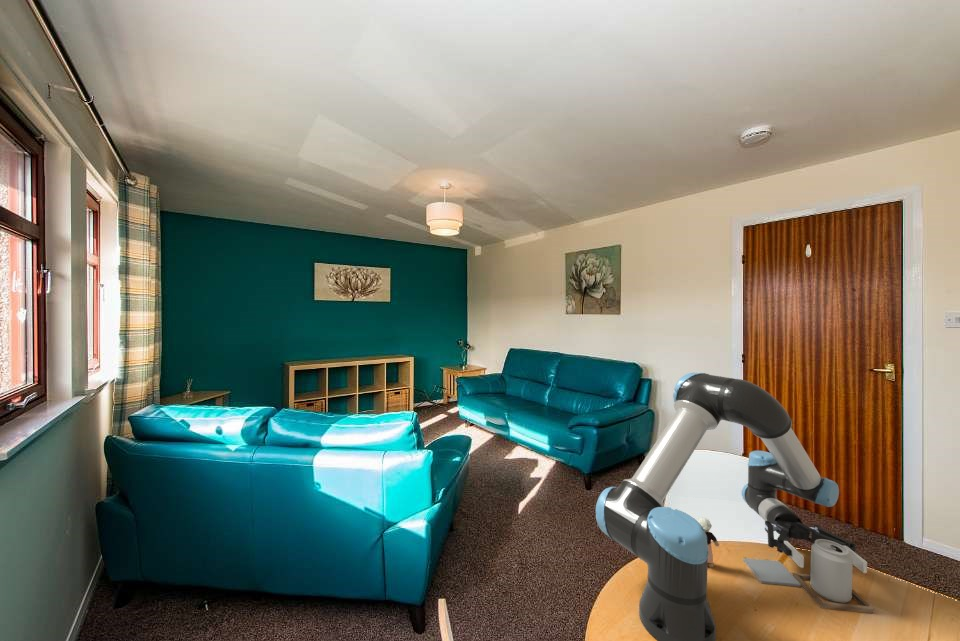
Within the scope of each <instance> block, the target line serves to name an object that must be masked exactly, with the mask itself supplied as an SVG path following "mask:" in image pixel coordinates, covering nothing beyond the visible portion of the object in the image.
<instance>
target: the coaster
mask: <svg viewBox="0 0 960 641" xmlns="http://www.w3.org/2000/svg"><path fill="white" fill-rule="evenodd" d="M742 560H743V562H744V563H745V564H746V565H747V568H748V569H749V570H750V571H751V572H752V573H753V575H754V576H755V577H756V579H757V580H758V581H759V582H760V583H761V584H765V585H766V584H767V585H779V586H786V587H787V586H788V587H789V586H790V587H797V588H798V587H799V588H800V587H801V584H800V583H799V582H798V581H797V580H796V579H795V577H794V576H793V575H792V573H791V572H790V570H788V569H787V568H786V567H785V565H784V564H783V563H782V562H781V561H780V560H773V559H772V560H770V559H760V558H757V559H756V558H748V557H743V559H742ZM801 588H802V587H801Z"/></svg>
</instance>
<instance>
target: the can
mask: <svg viewBox="0 0 960 641" xmlns="http://www.w3.org/2000/svg"><path fill="white" fill-rule="evenodd" d="M853 566H854V565H853V559H852V557H851V556H850V554H849V550H848V549H847V548H846V547H844V546H843V545H841V544H839V543H836V542H834V541H830V540H826V539H818V540H815V543H812V545H811V549H810V574H811V577H810V580H809V583H810V586H811V589H813V591H815V592H816V593H817V594H818V595H819V596H820V597H822V598H823V599H826V600H827V601H829V602H832V603H842V604H846V603H848V602H851V600H852V598H853V597H852V590H853V571H854V570H853V568H854V567H853Z"/></svg>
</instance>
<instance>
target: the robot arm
mask: <svg viewBox="0 0 960 641" xmlns="http://www.w3.org/2000/svg"><path fill="white" fill-rule="evenodd" d="M673 388H674V389H673V390H674V392H673V393H672V397H673V398H672V399H673V402H674V404H673V407H674V410H675V413H674V414H673V415H672V417H671V419H670V420H669V422H668V423H667V425H666V426H665V428H664V429H663V430H662V432H661V434H660V435H659V437H658V438H657V440H655V442H654V445H653V446H652V447H651V449H650V450H649V452H648V453H647V454H646V457H645V458H644V459H643V461H642V462H641V464H640V465H639V467H638V468H637V470H636V471H635V473H634V474H633V476H632V477H631V478H626V479H623V480H621V482H620V484H618V486H609V487H607V488H605V489H603V491H601V493H600V495H599V496H598V499H597V501H596V504H595V519H596V520H595V521H596V524H597V526H598V527H599V529H600V530H601V532H602V533H604V534H605V535H606V536H608V538H610V540H611V541H613V542H616V543H617V544H619V546H621V547H623V549H626V550H627V551H629V553H631V554H632V555H634V556H636V557H637V558H639V560H641V561H642V562H644V563H646V564H647V581H646V584H645V586H644V589H643V591H642V594H641V596H640V598H639V604H638V616H639V620H640V622H641V624H642V625H643V627H644V629H645V630H646V631H647V633H649V634H650V635H651V636H652V637H653V638H654V639H656V640H657V641H716V640H717V637H716V636H717V634H716V633H717V629H716V627H717V626H716V621H715V619H714V616H713V613H712V609H711V606H710V603H709V600H708V597H707V596H708V594H707V591H708V565H707V562H708V554H709V552H708V547H707V536H706V534H705V530H704V529H703V527H702V526H701V525H700V523H699V522H698V520H697V519H695V518H694V517H693V516H691V515H690V514H688V513H686V512H684V511H683V510H680V509H677V508H675V509H674V508H673V509H672V507H668V506H665V504H664V500H665V498H666V497H667V495H668V494H669V492H670V490H671V489H672V487H673V486H674V484H675V482H676V480H677V479H678V478H679V476H680V475H681V472H683V470H684V468H685V466H686V465H687V463H688V462H689V460H690V458H691V457H692V454H693V453H694V451H695V450H696V448H697V447H698V445H699V443H700V442H701V440H702V439H703V437H704V435H705V434H706V432H707V431H711V430H712V431H713V430H715V429H717V427H718V425H719V424H720V422H721V421H726V422H730V423H735V424H738V425H741V426H743V427H746V428H748V430H750V432H751V433H752V435H755V436H756V437H758V438H760V440H761V441H762V443H763V444H764V445H765V446H766V448H767V450H768V451H769V452H768V451H764V450H753V451H750V452H749V454H748V455H749V456H748V461H747V468H748V470H747V471H748V472H747V475H748V476H747V483H746V484H745V485H744V486H743V488H742V489H741V496H742V499H743V501H744V502H745V503H746V504H747V505H748V507H749V508H750V509H752V510H753V511H754V512H755V513H756V514H757V515H758V516H760V518H761V519H762V520H764V530H765V532H766V534H767V545H768V547H769V548H772V549H773V548H775V547H776V551H777V552H778V553H781V554H782V553H783V554H784V555H786V556H788V557H789V558H791V560H792V561H793V562H794V563H795V564H796V565H797V566H798V567H799V568H802V569H803V568H804V566H805V557H804V556H803V554H802V553H801V552H800V551H798V549H796V548H795V547H794V546H793V545H792V544H791V543H790V540H791V539H793V540H803V541H807V542H809V543H812V544H814V543H815V540H818V539H826V540H830V541H834V542H836V543H839V544H841V545H843V546H844V547H846V548H847V549H848V550H849V554H850V556H851V557H852V559H853V566H854V567H856V569H858V570H859V571H860V572H861V573H863V574H867V573H868V561H866V560H865V559H864V558H862V556H861V555H860V554H859V553H857V552H856V547H857V546H856V543H853V542H851V541H849V540H848V539H846V538H844V537H841V536H839V535H837V534H835V533H833V532H831V531H828V530H827V529H824V528H823V527H821V525H818V524H813V527H812V526H808V525H807V524H804V523H803V521H802V520H801V518H800V516H799V515H798V514H796V513H795V512H794V511H792V509H790V508H789V507H788V506H787V505H786V504H784V503H783V502H782V501H780V500H779V499H778V498H777V492H778V490H780V491H783V492H785V493H788V494H790V495H793V496H795V497H798V498H801V499H802V500H803V499H804V500H807V501H808V502H811V503H814V504H816V505H817V504H818V505H821V506H824V507H826V508H831V507H834V506H835V505H836V504H837V501H838V499H839V495H840V489H839V485H838V484H837V482H836V481H834V480H831V479H829V478H827V477H823V476H821V474H820V473H819V471H818V470H817V468H816V467H815V464H814V463H813V461H812V460H811V458H810V456H809V454H808V453H807V451H806V450H805V448H804V446H803V445H802V443H801V441H800V440H799V438H798V437H797V435H796V433H795V432H794V430H793V429H792V426H793V422H792V418H791V417H790V415H789V413H788V411H787V410H786V409H785V407H784V406H783V405H782V404H781V403H780V402H779V400H777V399H776V398H775V397H774V396H773V395H772V394H770V393H769V392H768V391H766V390H765V389H764V388H762V387H761V386H759V385H757V384H755V383H753V382H751V381H748V380H745V379H739V378H732V377H726V376H721V375H720V376H719V375H712V374H709V373H705V372H699V373H698V372H689V373H686V374H684V375H682V376H681V377H680V378H679V379H678V380H677V382H676V383H675V385H674V387H673ZM774 532H776V533H777V534H778V537H777V538H776V539H775V533H774ZM810 536H811V537H810Z"/></svg>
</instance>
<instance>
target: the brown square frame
mask: <svg viewBox="0 0 960 641" xmlns="http://www.w3.org/2000/svg"><path fill="white" fill-rule="evenodd" d="M791 574H792V575H793V576H794V577H795V579H796V580H797V581H798V582H799V583H800V584H801V588H802V589H803V590H804V591H805V593H806V594H808V595H809V597H811V599H812V600H813V601H814V602H815V603H816V604H817V605H818V606H819V607H820V608H821V609H828V610H837V611H838V610H839V611H848V612H856V613H857V612H858V613H867V614H868V613H869V614H875V612H874V611H875V608H874V607H872V606H871V605H870V604H869V603H868V602H867V601H866V600H864V598H862V597H861V596H860V595H859V594H858V593H857V592H856V591H855V590H854V589H852V598H853V600H855V601H856V602H857V603H858V604H850V603H837V602H833V601H823V600H822V599H821V598H820V597H819V596H818V595H817V594H816V593H815V592H814V590H812V588H811V587H810V586H809V585H808V584H807V583H806V582H805V580H807V581H810V577H811V573H798V572H792V573H791Z"/></svg>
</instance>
